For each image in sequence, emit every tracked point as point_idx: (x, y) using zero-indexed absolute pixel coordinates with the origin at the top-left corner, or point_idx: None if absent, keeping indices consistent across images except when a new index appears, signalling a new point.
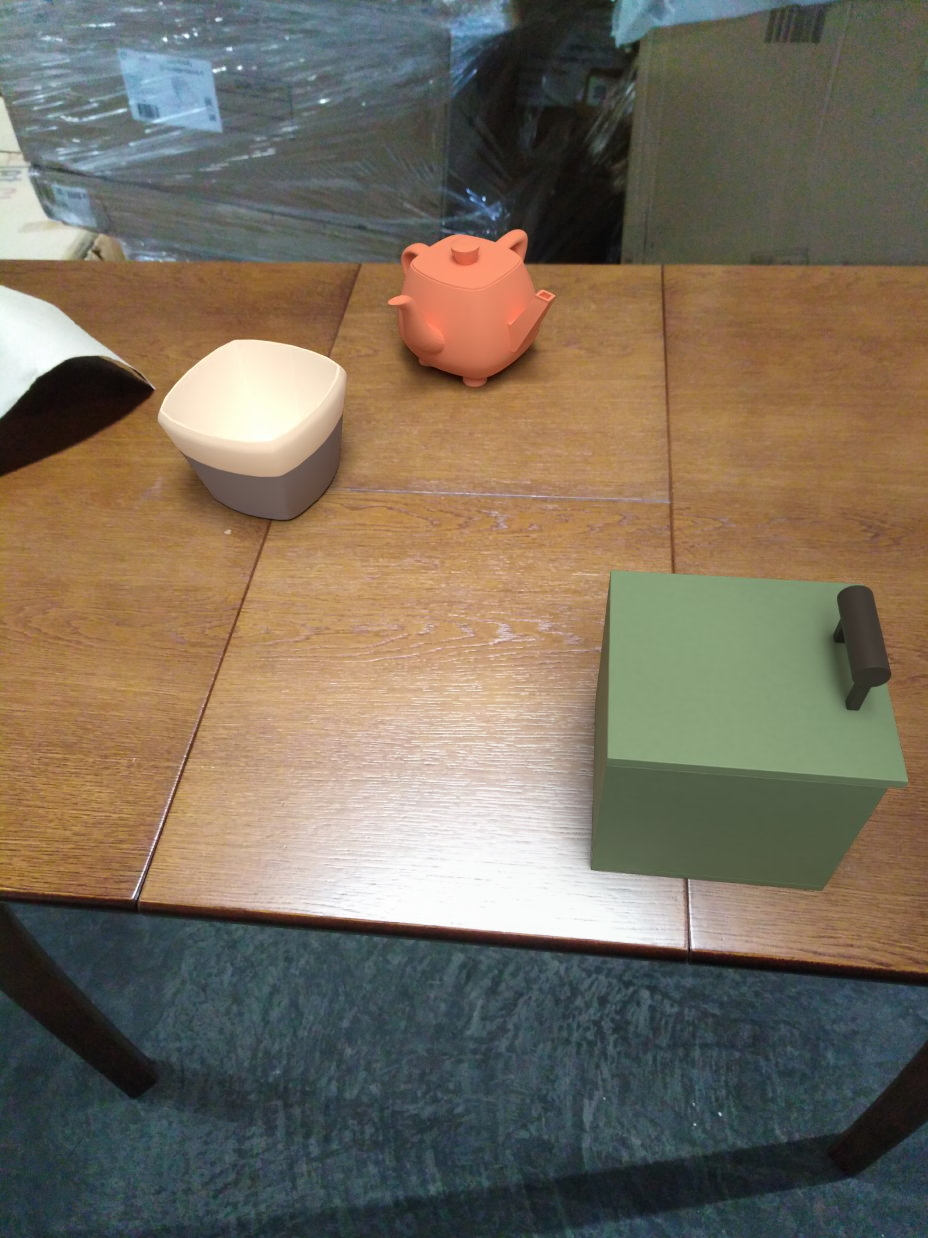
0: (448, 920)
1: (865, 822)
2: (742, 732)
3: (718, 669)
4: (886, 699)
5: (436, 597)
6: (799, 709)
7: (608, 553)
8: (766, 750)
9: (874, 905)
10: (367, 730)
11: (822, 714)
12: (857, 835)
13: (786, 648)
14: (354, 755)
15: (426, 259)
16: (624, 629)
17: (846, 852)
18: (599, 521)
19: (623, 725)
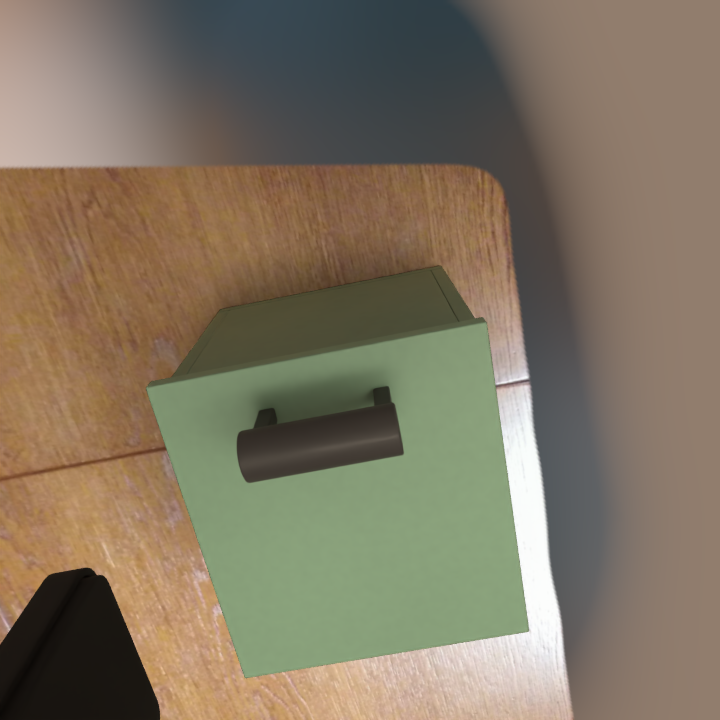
0: (548, 570)
1: (468, 308)
2: (459, 510)
3: (369, 546)
4: (357, 352)
5: (204, 676)
6: (406, 453)
7: (63, 539)
8: (478, 482)
9: (443, 211)
10: (383, 681)
11: (406, 427)
12: (462, 299)
13: (307, 476)
14: (412, 682)
15: None
16: (338, 648)
17: (455, 288)
18: (15, 558)
19: (482, 625)
